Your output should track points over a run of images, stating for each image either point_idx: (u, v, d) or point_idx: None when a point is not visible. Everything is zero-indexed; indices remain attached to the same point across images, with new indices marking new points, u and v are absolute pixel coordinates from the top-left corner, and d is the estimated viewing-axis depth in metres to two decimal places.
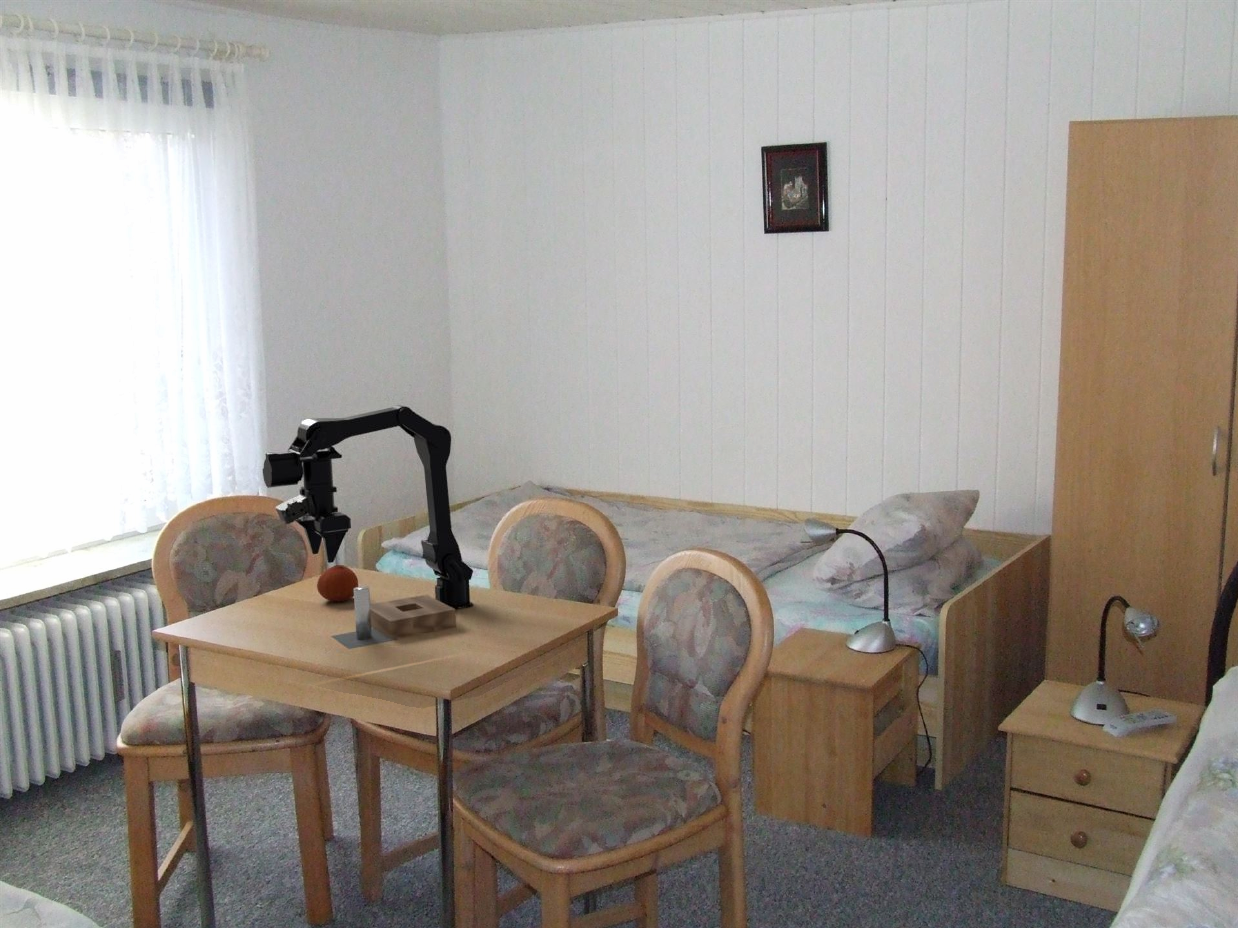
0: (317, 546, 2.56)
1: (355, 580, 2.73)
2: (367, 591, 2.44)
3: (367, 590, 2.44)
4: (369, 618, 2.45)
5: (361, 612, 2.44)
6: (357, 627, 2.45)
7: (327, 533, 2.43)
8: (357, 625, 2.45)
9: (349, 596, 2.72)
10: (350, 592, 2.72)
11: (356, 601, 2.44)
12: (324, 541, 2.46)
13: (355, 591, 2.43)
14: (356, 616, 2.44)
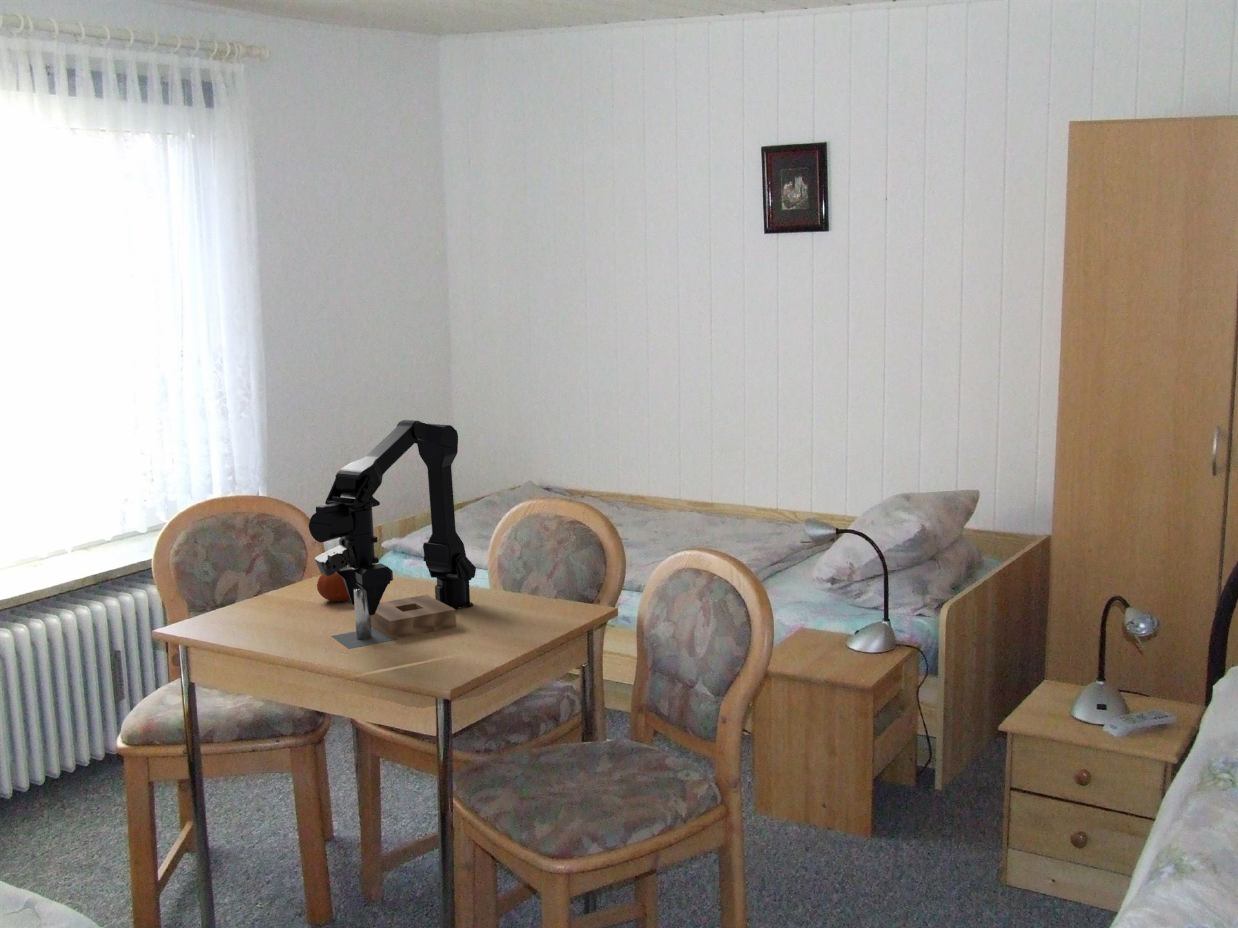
0: None
1: None
2: None
3: None
4: (369, 618, 2.45)
5: (361, 612, 2.44)
6: (357, 627, 2.45)
7: (369, 586, 2.37)
8: (357, 625, 2.45)
9: None
10: None
11: (356, 601, 2.44)
12: (365, 593, 2.39)
13: (355, 591, 2.43)
14: (356, 616, 2.44)
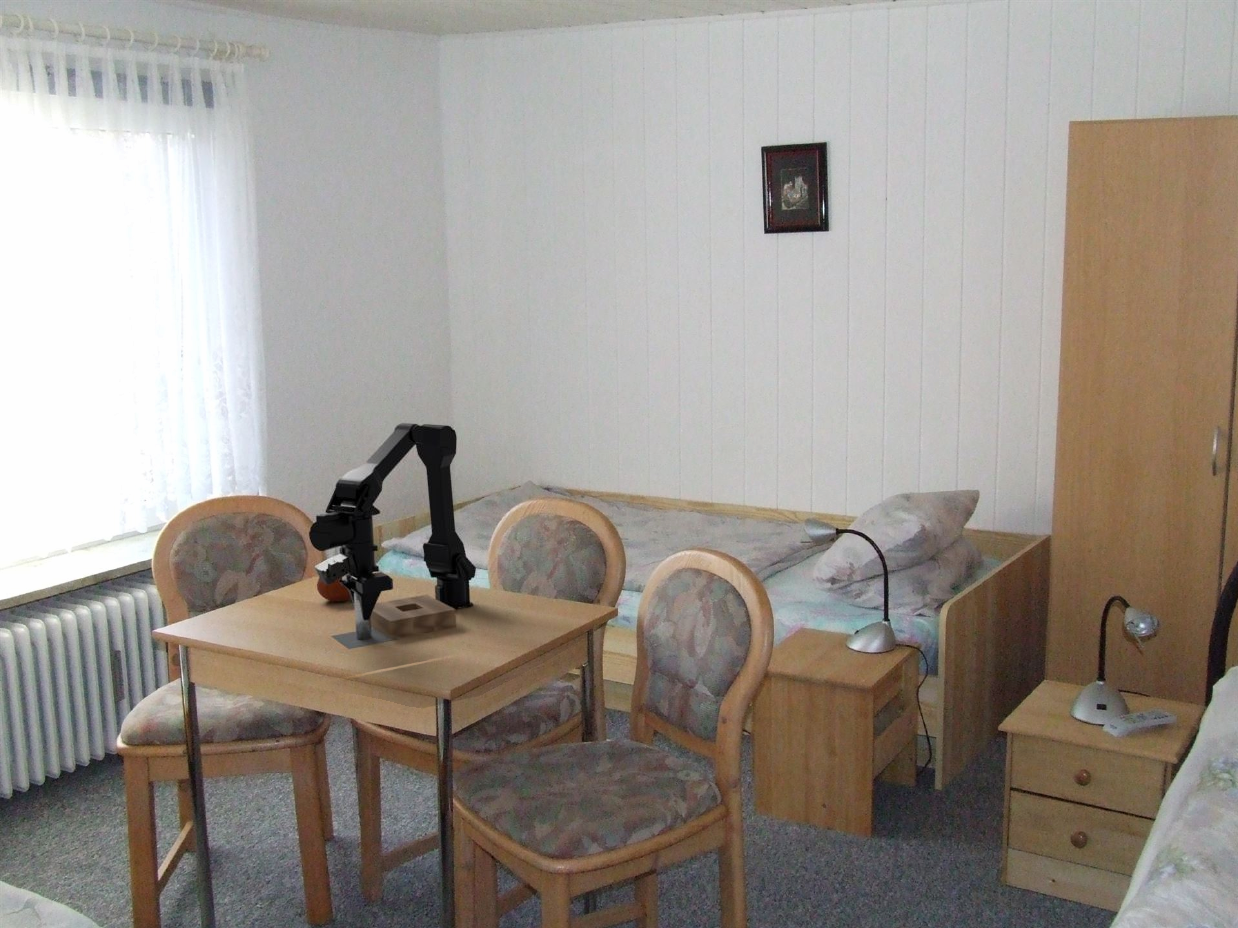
0: None
1: None
2: None
3: None
4: None
5: (361, 612, 2.44)
6: (357, 627, 2.45)
7: None
8: (357, 625, 2.45)
9: (349, 596, 2.72)
10: None
11: (356, 601, 2.44)
12: (360, 599, 2.42)
13: None
14: (356, 616, 2.44)
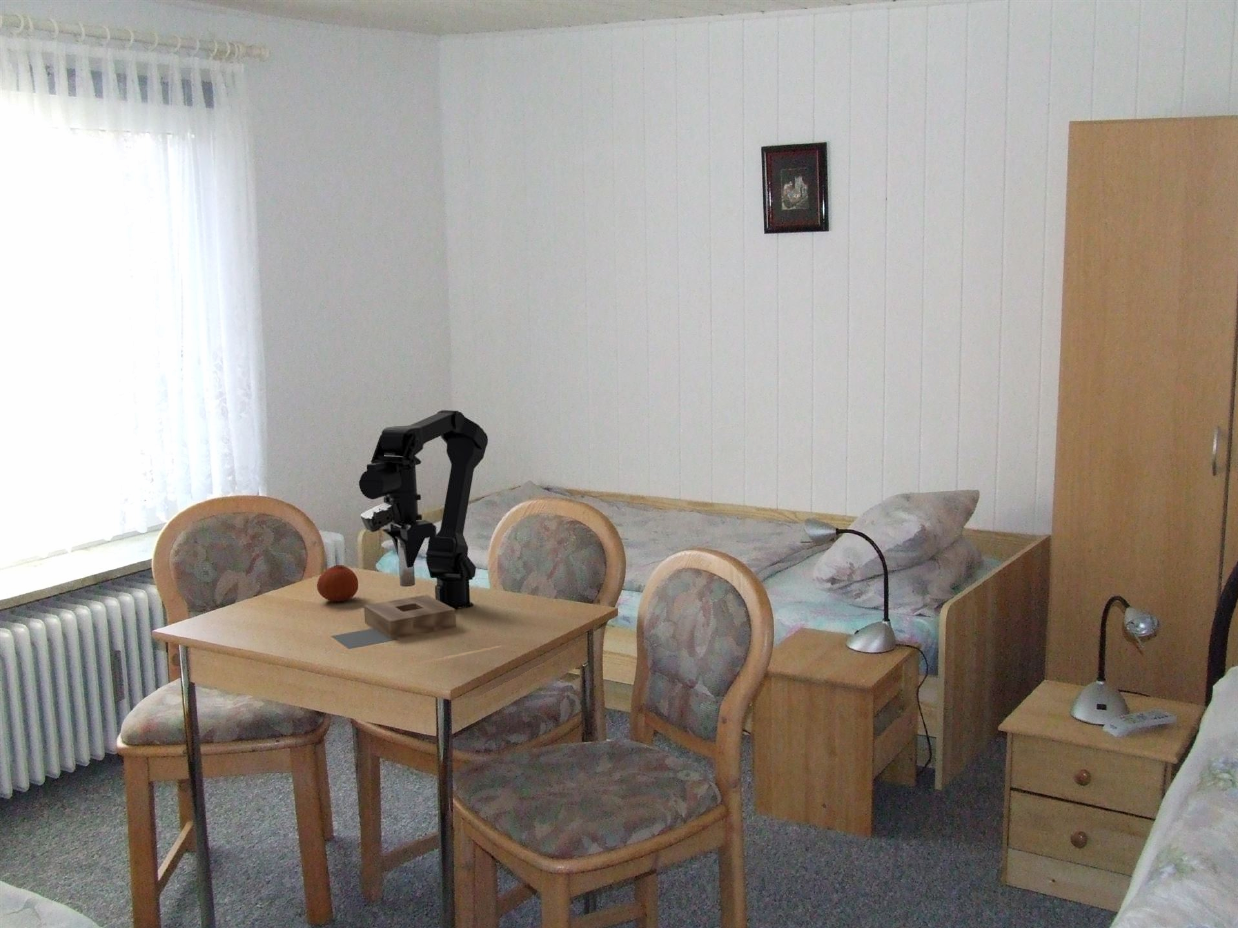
0: None
1: (355, 580, 2.73)
2: None
3: None
4: None
5: None
6: (401, 574, 2.52)
7: None
8: (401, 572, 2.51)
9: (349, 596, 2.72)
10: (350, 592, 2.72)
11: (400, 549, 2.51)
12: (404, 546, 2.49)
13: None
14: (400, 563, 2.51)
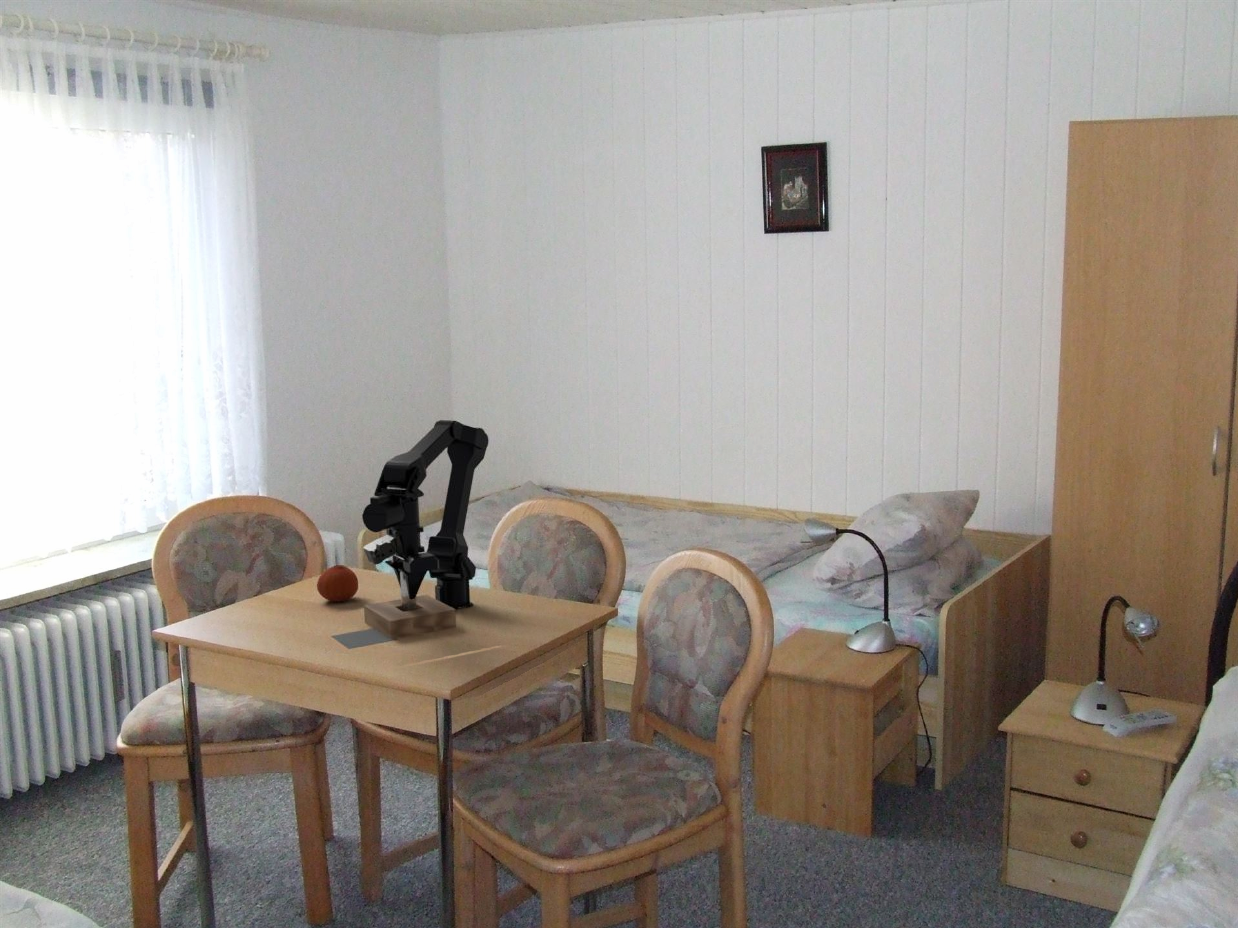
0: None
1: (355, 580, 2.73)
2: None
3: None
4: (415, 597, 2.53)
5: (407, 591, 2.52)
6: (403, 606, 2.53)
7: None
8: (403, 604, 2.53)
9: (349, 596, 2.72)
10: (350, 592, 2.72)
11: (402, 580, 2.52)
12: (406, 578, 2.50)
13: None
14: (402, 595, 2.52)
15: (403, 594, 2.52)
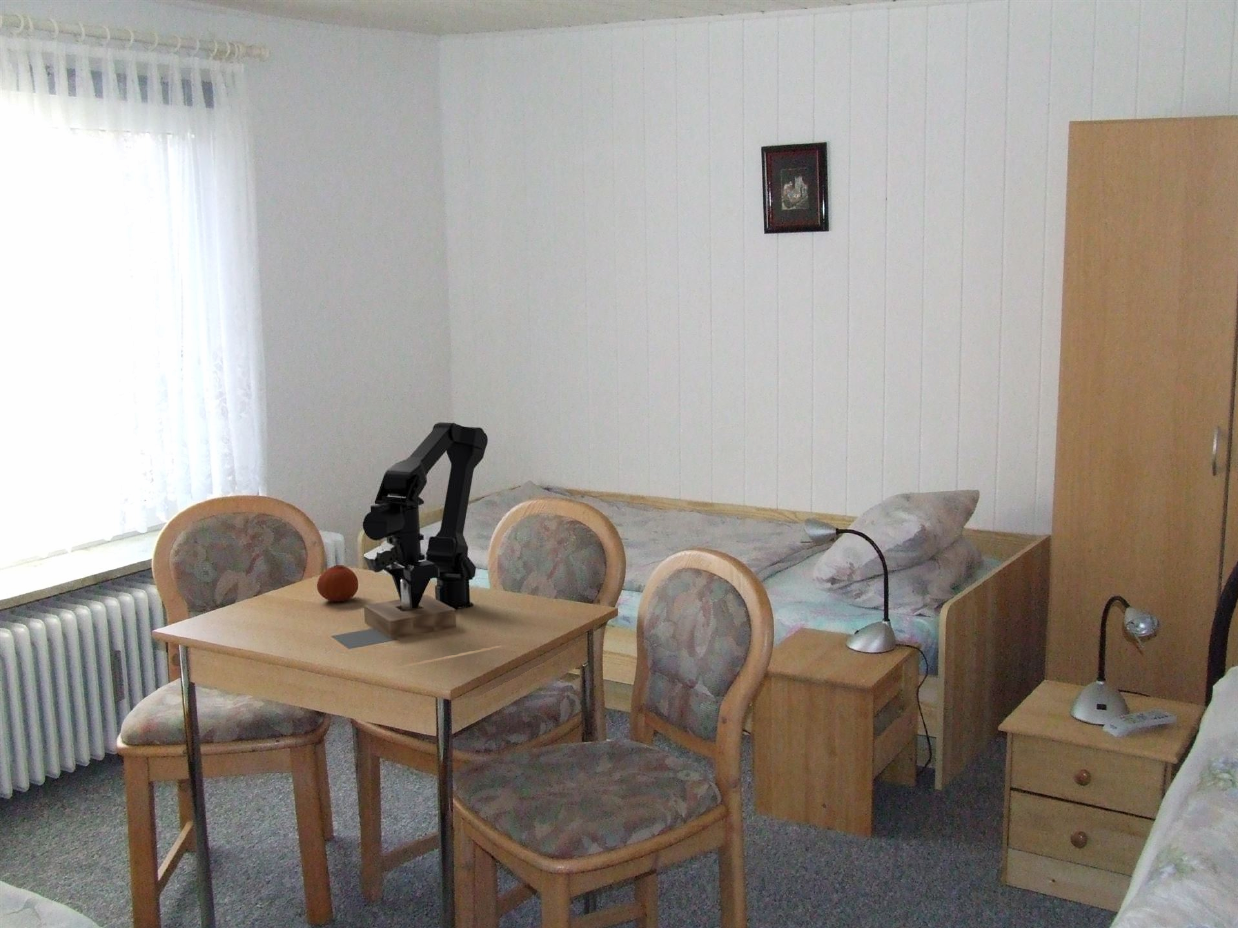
0: None
1: (355, 580, 2.73)
2: None
3: None
4: None
5: (408, 601, 2.52)
6: None
7: None
8: None
9: (349, 596, 2.72)
10: (350, 592, 2.72)
11: (403, 591, 2.52)
12: (409, 587, 2.49)
13: (402, 581, 2.52)
14: (403, 605, 2.53)
15: (403, 604, 2.53)
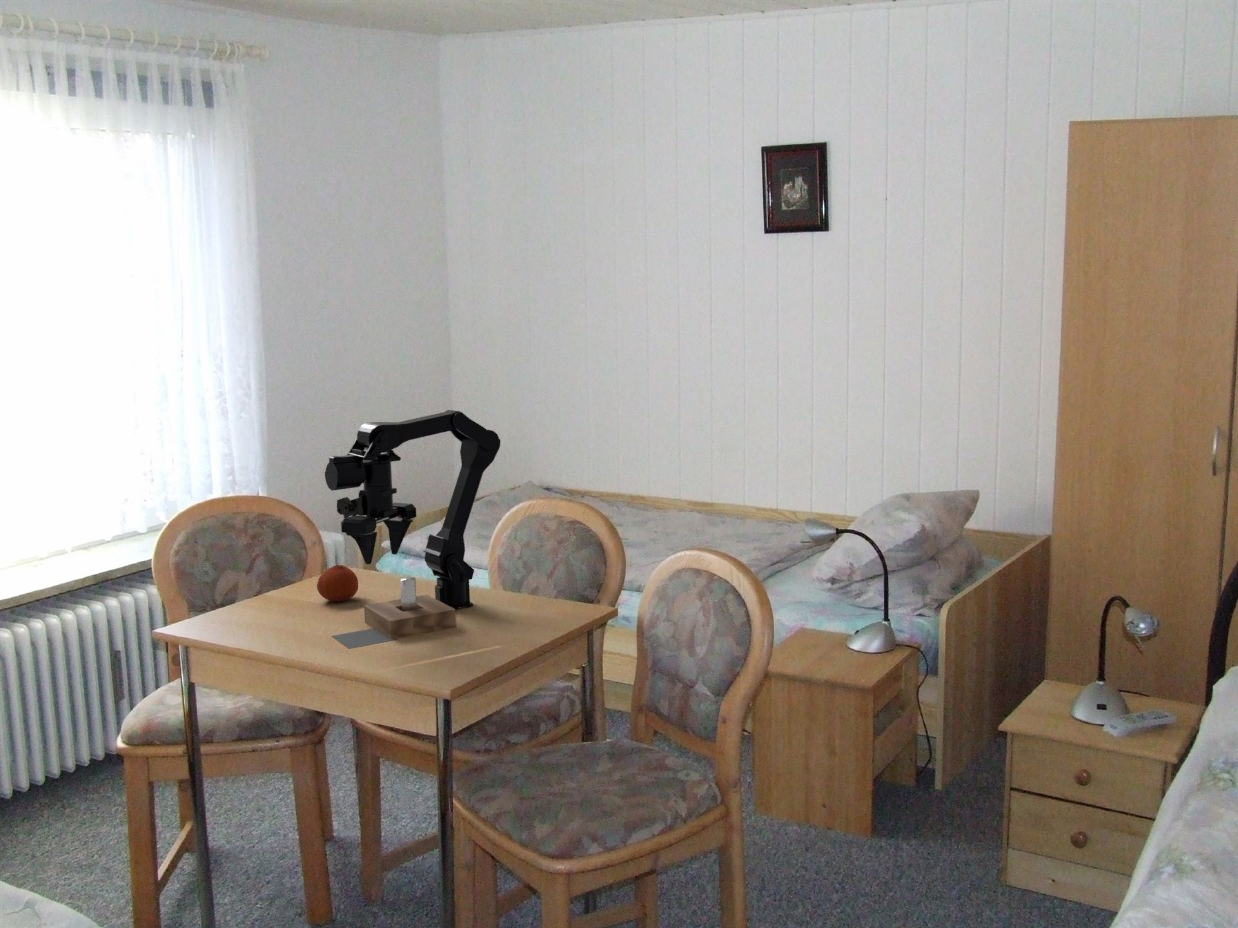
0: (395, 547, 2.61)
1: (355, 580, 2.73)
2: (413, 581, 2.52)
3: (413, 580, 2.52)
4: (415, 607, 2.53)
5: (408, 601, 2.52)
6: None
7: (350, 534, 2.49)
8: None
9: (349, 596, 2.72)
10: (350, 592, 2.72)
11: (403, 591, 2.52)
12: None
13: (402, 581, 2.52)
14: (403, 605, 2.53)
15: (403, 604, 2.53)
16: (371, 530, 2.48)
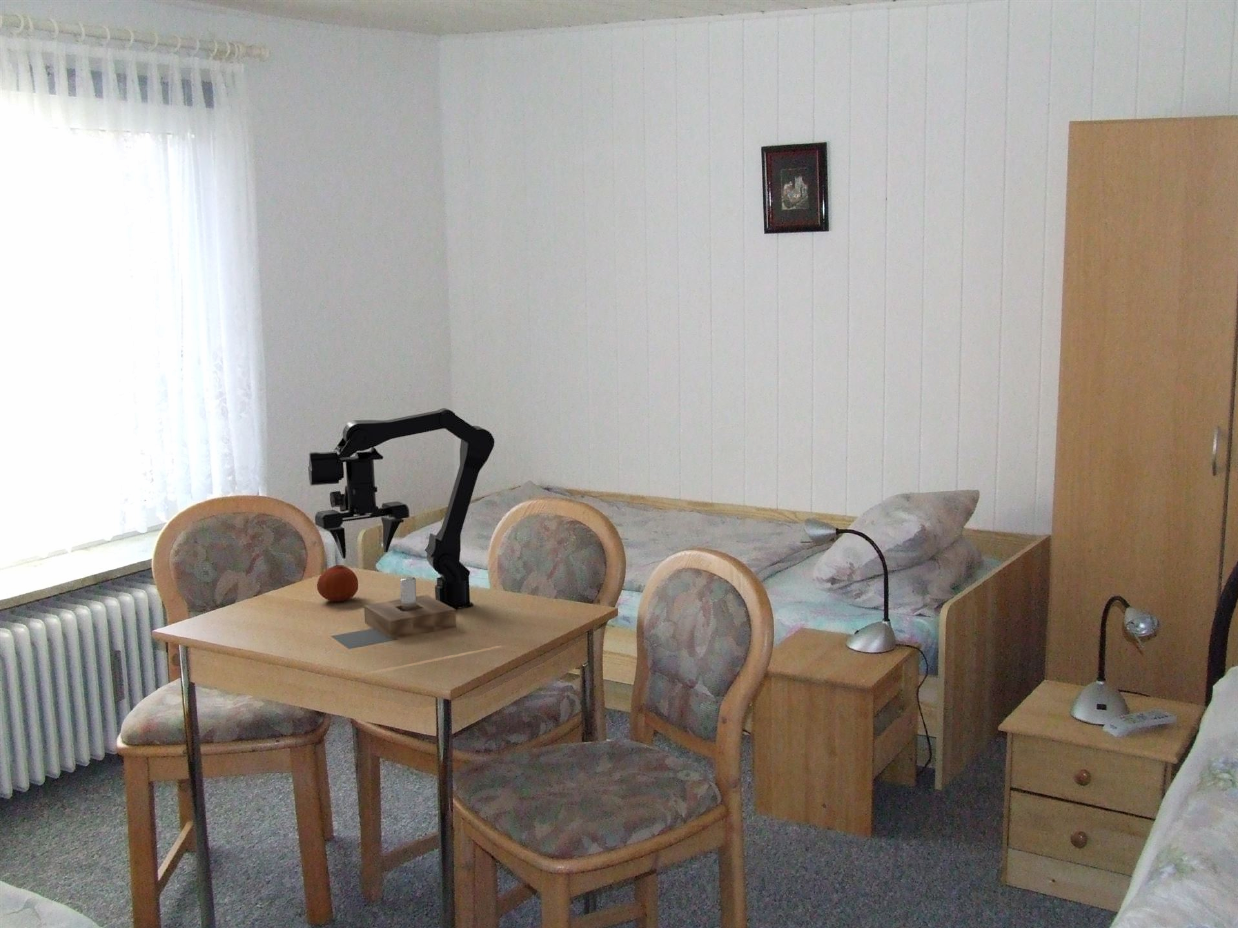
0: (385, 545, 2.63)
1: (355, 580, 2.73)
2: (413, 581, 2.52)
3: (413, 580, 2.52)
4: (415, 607, 2.53)
5: (408, 601, 2.52)
6: None
7: None
8: None
9: (349, 596, 2.72)
10: (350, 592, 2.72)
11: (403, 591, 2.52)
12: None
13: (402, 581, 2.52)
14: (403, 605, 2.53)
15: (403, 604, 2.53)
16: (334, 526, 2.54)
